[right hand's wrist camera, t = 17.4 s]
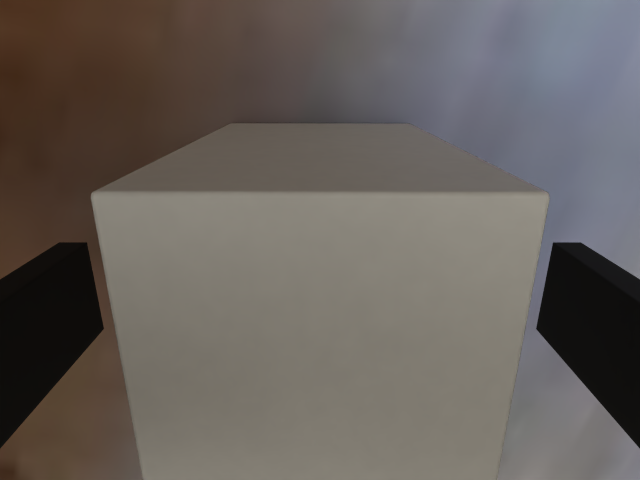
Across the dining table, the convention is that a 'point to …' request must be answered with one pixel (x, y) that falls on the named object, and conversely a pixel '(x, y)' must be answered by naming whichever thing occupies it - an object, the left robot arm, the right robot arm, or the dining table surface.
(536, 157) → the dining table surface
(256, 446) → the box
